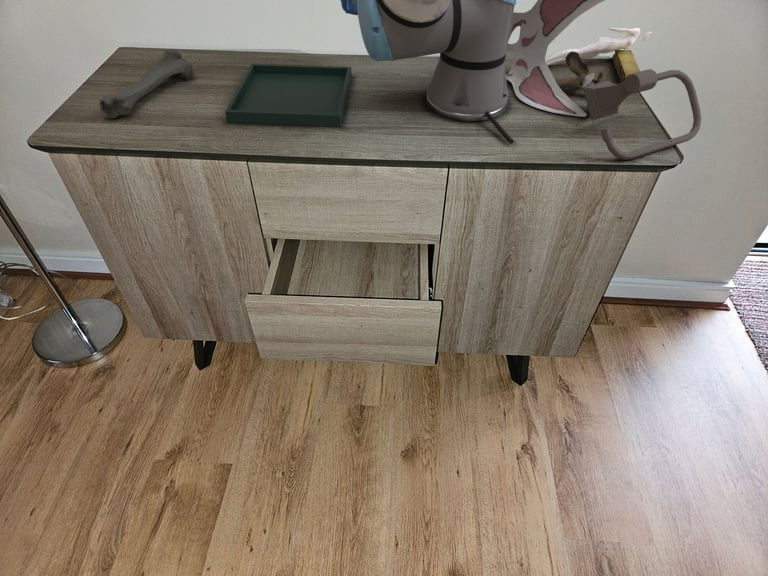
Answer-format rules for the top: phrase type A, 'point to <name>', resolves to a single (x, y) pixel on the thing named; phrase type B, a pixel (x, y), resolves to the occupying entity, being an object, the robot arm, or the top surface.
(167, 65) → the bone
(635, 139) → the top surface
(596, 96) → the toilet paper hanger
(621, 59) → the decorative block
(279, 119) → the tray
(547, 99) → the mask
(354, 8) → the sippy cup
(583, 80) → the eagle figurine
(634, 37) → the figurine
